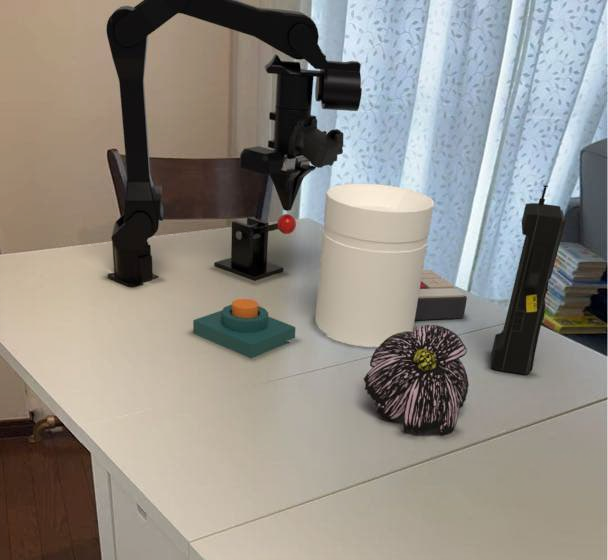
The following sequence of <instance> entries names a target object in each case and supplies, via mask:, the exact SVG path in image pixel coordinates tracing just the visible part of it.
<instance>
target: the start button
mask: <svg viewBox="0 0 608 560" xmlns="http://www.w3.org/2000/svg"><path fill="white" fill-rule="evenodd" d="M231 305H232V315H234V316H236V317H241V318H254V317H256V316H258V306H260V305H259V302H258V301H256V300H254V299H250V298H237V299H234V300H232V302H231Z"/></svg>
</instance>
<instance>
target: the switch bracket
mask: <svg viewBox="0 0 608 560" xmlns="http://www.w3.org/2000/svg"><path fill="white" fill-rule="evenodd" d="M257 223H258V226H259V227H262V226H267V225H270V223H269V222H268V221H265V220H261V219H258V218H255V217H252V216H250V217H249V216H248V217H247V218H246V223H244V222H241V221H237V220H234V221H231V243H230V245H231V247H230V249H231V251H230V257H228V258H224V259H221V260H217V261H215V262H214V263H213V267H215V268H218V269H219V270H223V271H225V272H229V273H231V274H234V275H237V276H239V277H242V278H245V279H247V280H250V281H254V282H256V281H260V280H263V279H266V278H269V277H272V276H275V275H278V274H280V273H284V270H285V269H284V267H283V266H279V265H277V264H274V263H271V262H268V250H269V249H268V248H269V247H268V246H269V231H268V232H264V233H260V234H261V237H260V238H256V239H253V233H254V227H253V226H250V225H252V224H257Z"/></svg>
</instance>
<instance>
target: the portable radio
mask: <svg viewBox="0 0 608 560" xmlns="http://www.w3.org/2000/svg"><path fill="white" fill-rule="evenodd" d="M542 187H543V189H542V194H541V198H539V199H538V202H530V203H528V202H527V203H525V206H524V210H523V214H522V219H521V234H522V235H524V236H525V237H524V241H523V245H522V248H521V249H522V250H521V254H520V257H519V262H518V266H517V270H516V273H515V274H516V275H515V279H514V282H513V287H512V292H511V296H510V300H509V304H508V309H507V312H506V317H505V321H504V324H503V329H502V330H501V332H499V333H497V334H495V335H494V339H493V344H492V348H491V355H490V356H491V357H490V368H491V369H493V370H496V371H500V372H506V373H513V374H520V375H524V376H525V375H528V374H529V373H531V372H532V371H533V367H534V361H535V356H536V351H537V345H538V342H539V336H540V331H541V328H542V327H541V326H542V323H543V321H544V318H545V314H546V313H545V312H546V295H547V292H548V291H549V281H550V280H551V279H552V275H553V272H554V267H555V263H556V259H557V256H558V252H559V249H560V243H561V241H562V236H563V233H564V228H565V224H566V219H565V215H564V211H563V210H562V209H561V206H560V205H554V204H548V203H547V204H546V203H545V201H546V199H545V196H546V195H545V194H546V192H547V191H546V190H547V188H548V187H549V185H545V184H543V185H542Z"/></svg>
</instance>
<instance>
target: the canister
mask: <svg viewBox="0 0 608 560" xmlns="http://www.w3.org/2000/svg"><path fill="white" fill-rule="evenodd" d="M434 205H435V201H434V200H433V199H432V198H431V197H430V196H428V195H425V194H423V193H421V192H419V191H415V190H412V189H409V188H404V187H400V186H395V185H386V184H378V183H345V184H339V185H335V186H333V187H330V188H328V189H327V191H326V194H325V204H324V216H323V223H324V224H323V231H322V237H321V250H320V262H319V272H318V284H317V295H316V306H315V308H316V309H315V317H314V321H315V323H316V326H317V327H318V328H319V329H320V330H321V331H322V332H323V333H324V334H323V335H324V336H325V337H328V338H329V339H332V340H334V341H337V342H339V343H344V344H348V345H349V346H357V347H365V348H378V347H379V346H380V344H382V343H383V342H384V341H385V340H386V339H387V338H389V337H390V336H392V335H394V334H397V333H401V332H406V331H414V327H415V321H416V320H415V315H416V308H417V302H418V296H419V290H420V284H421V278H422V272H423V270H424V266H425V265H424V264H425V260H426V254H427V249H428V248H427V247H428V241H429V240H428V237H429V235H430V228H431V224H432V223H431V222H432V217H433V210H434Z"/></svg>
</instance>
